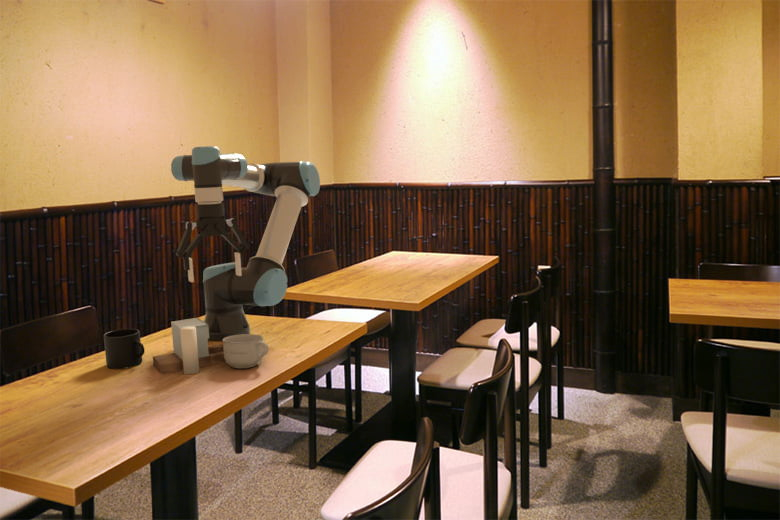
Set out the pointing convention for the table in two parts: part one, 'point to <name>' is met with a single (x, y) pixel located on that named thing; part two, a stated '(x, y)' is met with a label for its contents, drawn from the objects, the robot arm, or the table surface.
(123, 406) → the table surface
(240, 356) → the teacup
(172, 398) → the table surface
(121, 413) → the table surface
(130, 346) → the mug
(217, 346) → the wooden tray
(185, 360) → the pin
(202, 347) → the cover
